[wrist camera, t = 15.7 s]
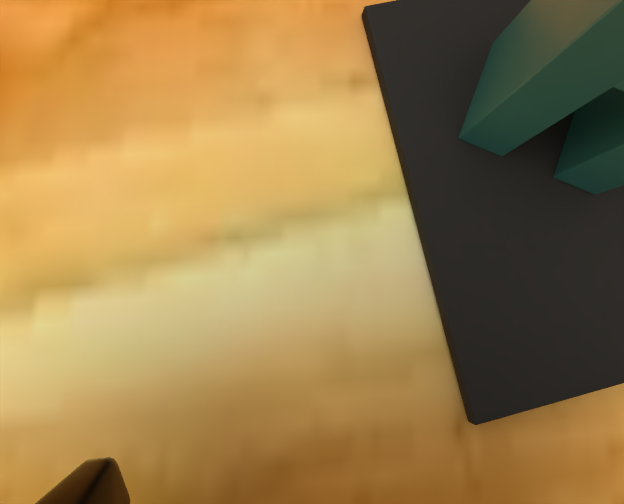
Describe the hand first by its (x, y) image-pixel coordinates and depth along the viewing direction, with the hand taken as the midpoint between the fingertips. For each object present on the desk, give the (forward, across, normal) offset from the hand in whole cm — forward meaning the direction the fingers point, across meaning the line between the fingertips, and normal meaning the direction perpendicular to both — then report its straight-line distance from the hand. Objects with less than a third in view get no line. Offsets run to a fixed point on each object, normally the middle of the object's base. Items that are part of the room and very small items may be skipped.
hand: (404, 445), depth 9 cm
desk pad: (+12, -6, 0) cm, 14 cm away
